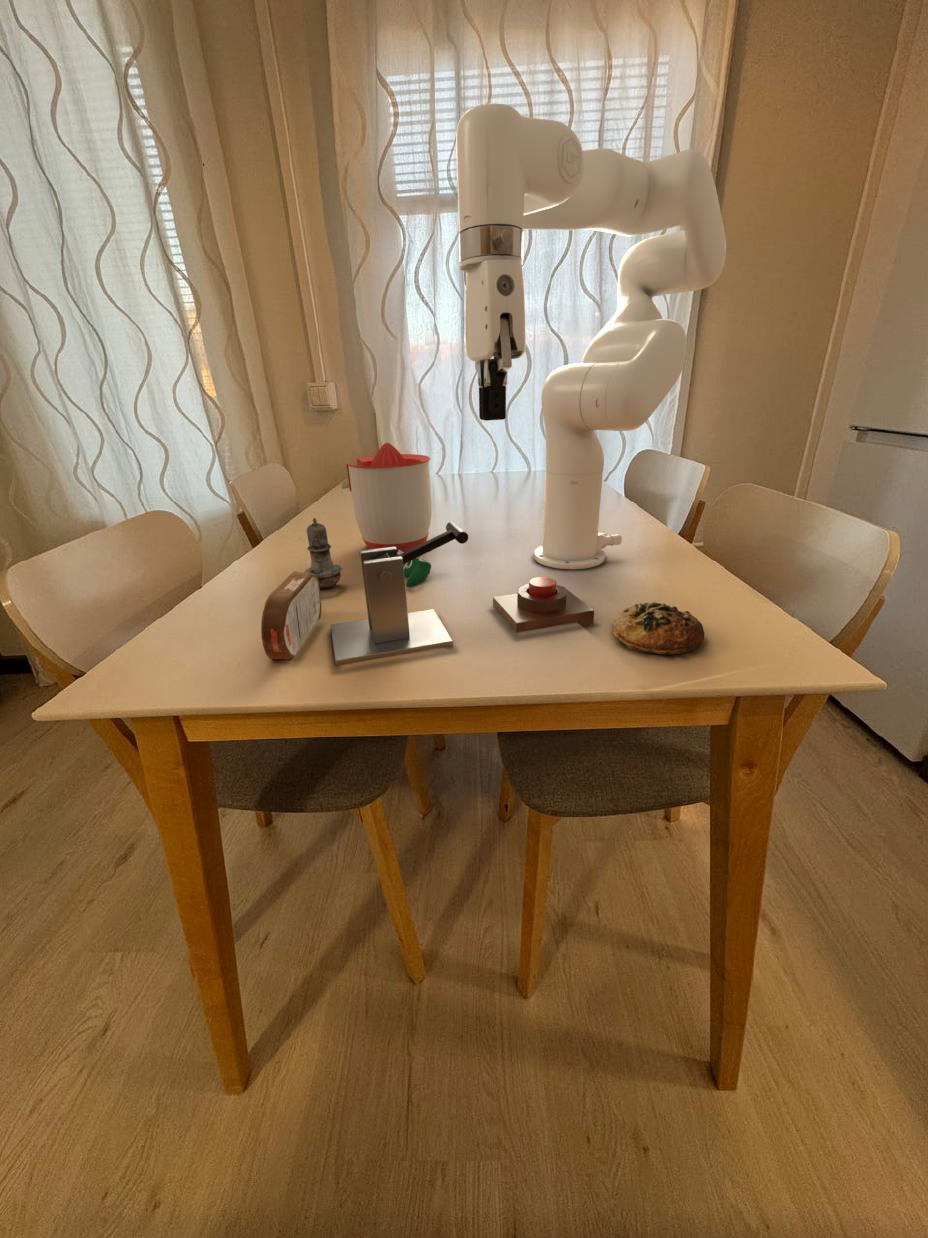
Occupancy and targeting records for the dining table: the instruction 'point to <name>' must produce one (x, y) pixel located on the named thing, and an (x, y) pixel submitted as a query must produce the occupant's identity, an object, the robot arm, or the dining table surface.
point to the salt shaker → (321, 557)
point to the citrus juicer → (391, 498)
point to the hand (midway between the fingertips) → (492, 419)
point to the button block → (542, 609)
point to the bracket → (386, 616)
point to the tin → (290, 615)
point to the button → (542, 587)
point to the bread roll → (658, 629)
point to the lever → (433, 543)
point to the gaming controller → (416, 570)
